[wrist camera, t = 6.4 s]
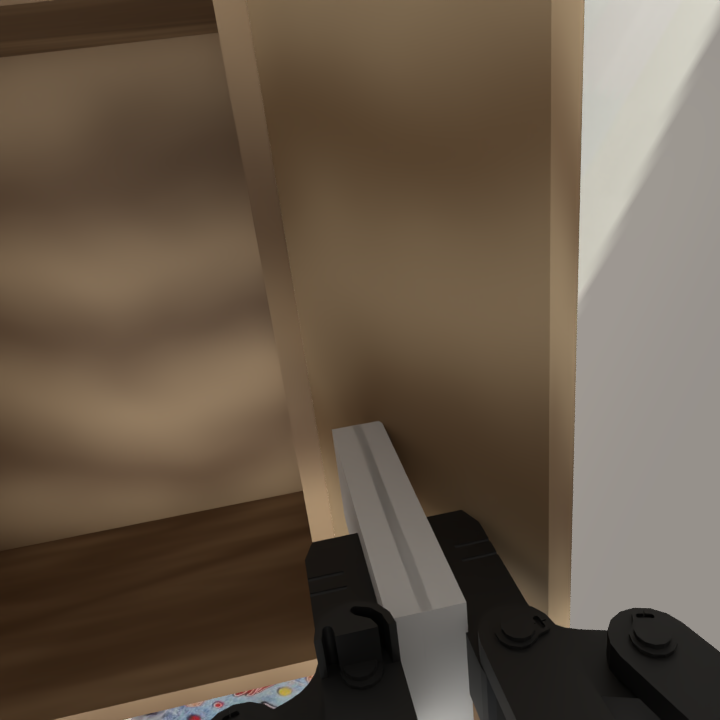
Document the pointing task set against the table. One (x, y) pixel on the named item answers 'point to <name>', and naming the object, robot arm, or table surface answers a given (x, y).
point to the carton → (146, 368)
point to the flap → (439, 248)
